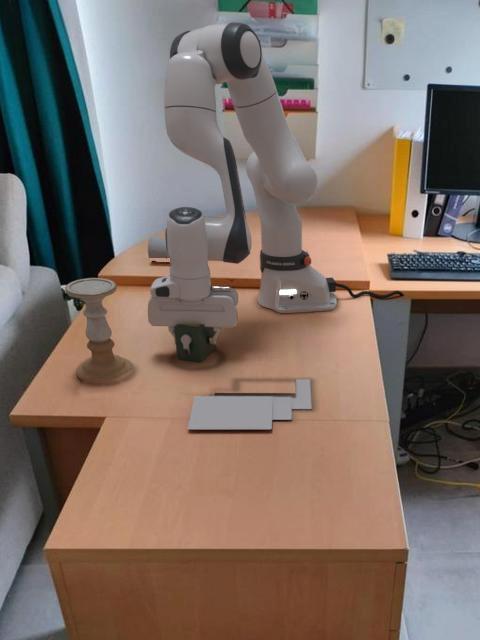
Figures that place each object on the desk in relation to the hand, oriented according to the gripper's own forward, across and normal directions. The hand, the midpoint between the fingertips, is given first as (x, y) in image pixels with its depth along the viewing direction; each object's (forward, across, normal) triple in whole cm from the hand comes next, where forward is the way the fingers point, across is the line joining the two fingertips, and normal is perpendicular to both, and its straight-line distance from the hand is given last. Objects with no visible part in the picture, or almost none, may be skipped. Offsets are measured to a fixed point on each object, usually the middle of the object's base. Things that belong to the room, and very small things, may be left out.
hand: (195, 343), depth 169 cm
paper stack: (+4, -14, +23) cm, 27 cm away
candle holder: (+4, +20, +8) cm, 22 cm away
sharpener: (+3, 0, +1) cm, 3 cm away
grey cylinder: (+4, +18, -72) cm, 75 cm away
